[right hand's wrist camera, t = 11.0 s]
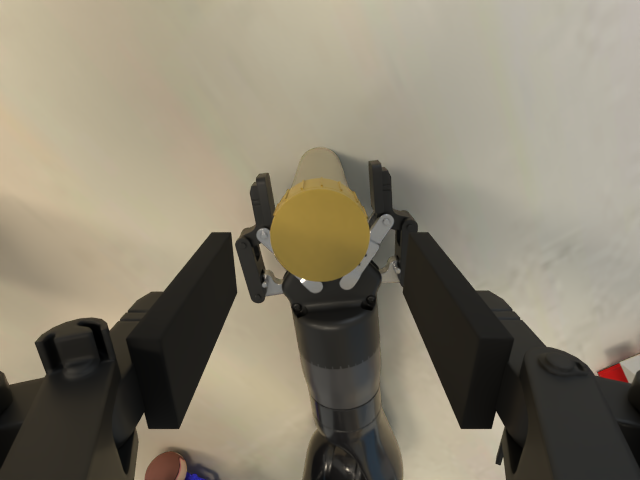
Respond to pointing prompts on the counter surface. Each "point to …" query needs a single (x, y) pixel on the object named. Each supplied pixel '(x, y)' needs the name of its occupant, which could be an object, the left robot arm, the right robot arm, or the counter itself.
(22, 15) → the counter surface
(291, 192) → the lid
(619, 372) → the toy
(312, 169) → the jar
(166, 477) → the black wheeled vehicle
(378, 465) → the left robot arm
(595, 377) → the right robot arm
